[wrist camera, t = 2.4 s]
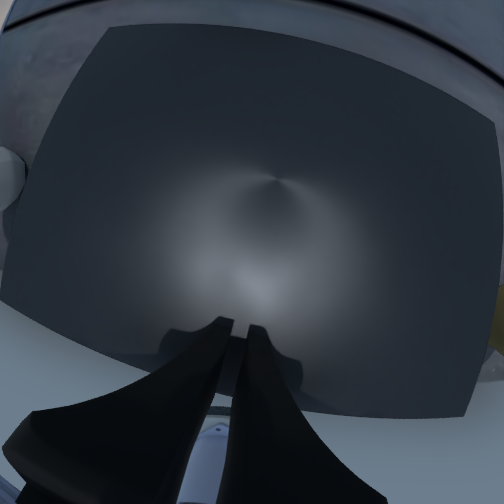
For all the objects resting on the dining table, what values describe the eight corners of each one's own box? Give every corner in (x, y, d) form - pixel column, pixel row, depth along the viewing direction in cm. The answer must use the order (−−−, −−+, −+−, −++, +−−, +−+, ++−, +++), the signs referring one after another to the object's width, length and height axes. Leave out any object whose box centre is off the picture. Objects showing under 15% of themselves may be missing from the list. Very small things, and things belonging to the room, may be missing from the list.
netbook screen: (455, 411, 11) (464, 417, 10) (8, 299, 12) (-2, 299, 11) (487, 127, 13) (494, 122, 12) (113, 35, 14) (109, 26, 13)
